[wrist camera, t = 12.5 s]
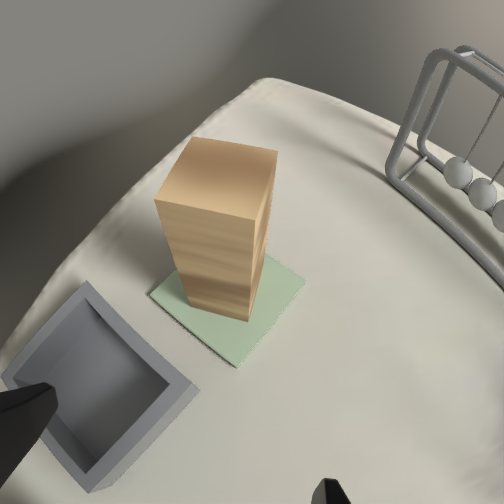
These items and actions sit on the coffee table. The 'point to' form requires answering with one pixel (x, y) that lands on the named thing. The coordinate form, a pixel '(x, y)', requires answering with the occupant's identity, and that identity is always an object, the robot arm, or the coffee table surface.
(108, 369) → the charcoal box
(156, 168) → the coffee table surface
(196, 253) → the oak post
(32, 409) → the robot arm
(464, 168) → the newton's cradle
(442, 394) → the coffee table surface
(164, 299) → the sage mat
